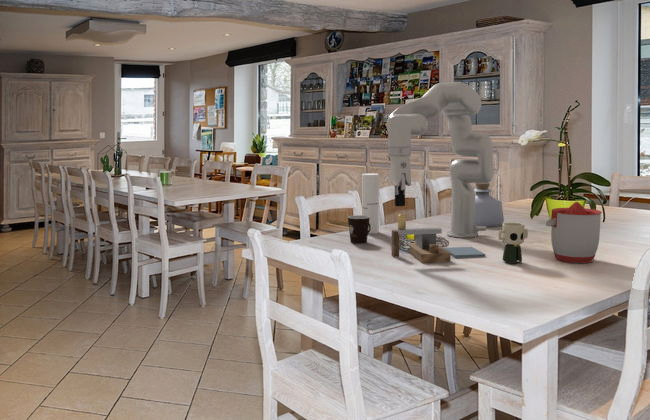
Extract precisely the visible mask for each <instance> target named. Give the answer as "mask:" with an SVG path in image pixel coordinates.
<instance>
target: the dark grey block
mask: <svg viewBox="0 0 650 420" xmlns="http://www.w3.org/2000/svg"><path fill="white" fill-rule="evenodd" d="M430 244H437V234H416V245H417V246H418V247H420V248H421V249H430Z"/></svg>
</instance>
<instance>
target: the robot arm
mask: <svg viewBox="0 0 650 420" xmlns="http://www.w3.org/2000/svg"><path fill="white" fill-rule="evenodd" d="M481 109H482V97H481V96H480V94H479V93H478V92H477V90H474V89H473V88H472V87H471V86H470V85H469V84H467V83H465V82H463V81H449V82H447V81H446V82H439V83H435V84H434V85H433V86H432V87H431V88H429V90H427V92H425V93H424V94H423V96H421V97H420V98H417V99H414V100H413V101H410V102H407V103H405V104H402V105H401V106H399V107H397V108H396V109H395V110H393V111H392V113H390V115H389V116H388V118H387V121H386V129H387V130H386V131H387V133H388V141H387V142H388V148H387V149H388V150H387V151H388V156H387V157H389V158H390V183H391V184H392V185H393V186H394V206H395V207H404V206H406V190H407V189H406V186H408V187H410V186H412V172H411V170H412V169H411V161H410V157H411V156H412V140H411V139H412V137H418V136H422V135H424V134H425V133H426V132H427V131H428V127H429V121H428V120H429V119H433V118H435V117H436V116H437V115H439V113H441V114H442V115H443V116H444V117H445V118H446V119H447V121H448V123H449V132H450V142H451V143H450V144H451V150H452V153H453V155H455V156H457V157H466V158H458V159H455V160H452V162H451V163H450V166H449V176H450V182H451V208H450V209H451V213H450V214H451V216H450V217H451V219H450V230H448V231H447V232H446V235H447V236H449V237H452V238H460V239H466V238H468V239H470V238H471V239H472V238H476V237H478V236H479V231H480V232H484V231H486V230H487V227H486V226H477V225H475V195H476V192H475V191H474V189H475V188H474V187H473V185H472V183H473V184H476V183H490V182H491V181H492V180H493V178H494V173H495V172H494V171H495V170H494V168H495V167H494V153H493V141H492V139H491V136H490V134H488V133H485V132H474V130H473V127H472V126H473V125H472V119H471V117H470V116H474V115H477V114H478V113H479V112H480V110H481ZM467 157H469V158H467ZM470 157H473V158H470ZM475 158H476V159H475Z"/></svg>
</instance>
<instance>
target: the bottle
mask: <svg viewBox="0 0 650 420" xmlns="http://www.w3.org/2000/svg"><path fill="white" fill-rule="evenodd" d="M490 185H491V183H490V182H489V183H475V186H476V188H473V189H474V191H475V225H477V226H486V228H493V227H500V226H501V225H503V223H505V222H504V221H505V217H504V211H503V201H501V200H500V199H497V198H496V197H493V196H491V194H490V193H491V192H493V190H492V189H491V188H490Z"/></svg>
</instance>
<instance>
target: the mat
mask: <svg viewBox="0 0 650 420" xmlns="http://www.w3.org/2000/svg"><path fill="white" fill-rule="evenodd" d="M442 248H443V249H445V250H446V251H448V252H449V253H451V258H452V257H453V258H454V259H465V258H466V259H467V258H486V253H484V252H482V251H481V250H479V249H477V248H476V247H474V246H459V247H458V246H455V247H442Z"/></svg>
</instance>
